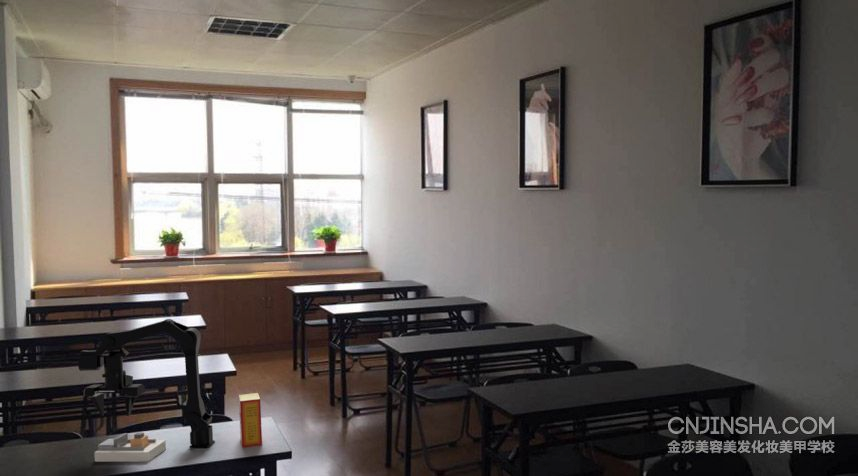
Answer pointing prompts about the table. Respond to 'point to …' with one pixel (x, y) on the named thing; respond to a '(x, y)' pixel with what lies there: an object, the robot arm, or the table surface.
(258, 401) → the baking soda box
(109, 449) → the board
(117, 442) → the shutter
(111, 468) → the table surface
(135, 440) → the plug
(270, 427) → the table surface
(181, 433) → the table surface
